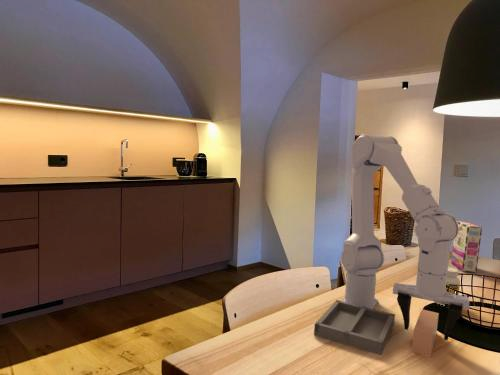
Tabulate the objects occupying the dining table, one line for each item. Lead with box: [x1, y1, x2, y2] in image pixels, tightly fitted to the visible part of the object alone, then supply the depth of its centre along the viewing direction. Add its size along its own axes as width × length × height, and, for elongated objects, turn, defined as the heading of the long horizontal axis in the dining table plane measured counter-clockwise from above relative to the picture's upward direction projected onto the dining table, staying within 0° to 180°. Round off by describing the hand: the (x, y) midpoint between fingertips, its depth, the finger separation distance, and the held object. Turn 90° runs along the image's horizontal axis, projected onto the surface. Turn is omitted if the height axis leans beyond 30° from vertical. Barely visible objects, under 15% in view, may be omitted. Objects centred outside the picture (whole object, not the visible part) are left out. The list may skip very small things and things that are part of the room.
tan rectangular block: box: [411, 308, 440, 358], centre depth 82 cm, size 12×4×5 cm, turn 149°
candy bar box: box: [450, 220, 483, 273], centre depth 139 cm, size 11×5×16 cm, turn 172°
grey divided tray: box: [313, 299, 396, 356], centre depth 86 cm, size 16×14×2 cm
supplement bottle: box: [435, 266, 461, 307], centre depth 104 cm, size 5×5×10 cm
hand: (425, 332), depth 82 cm, fingers open, 7 cm apart
